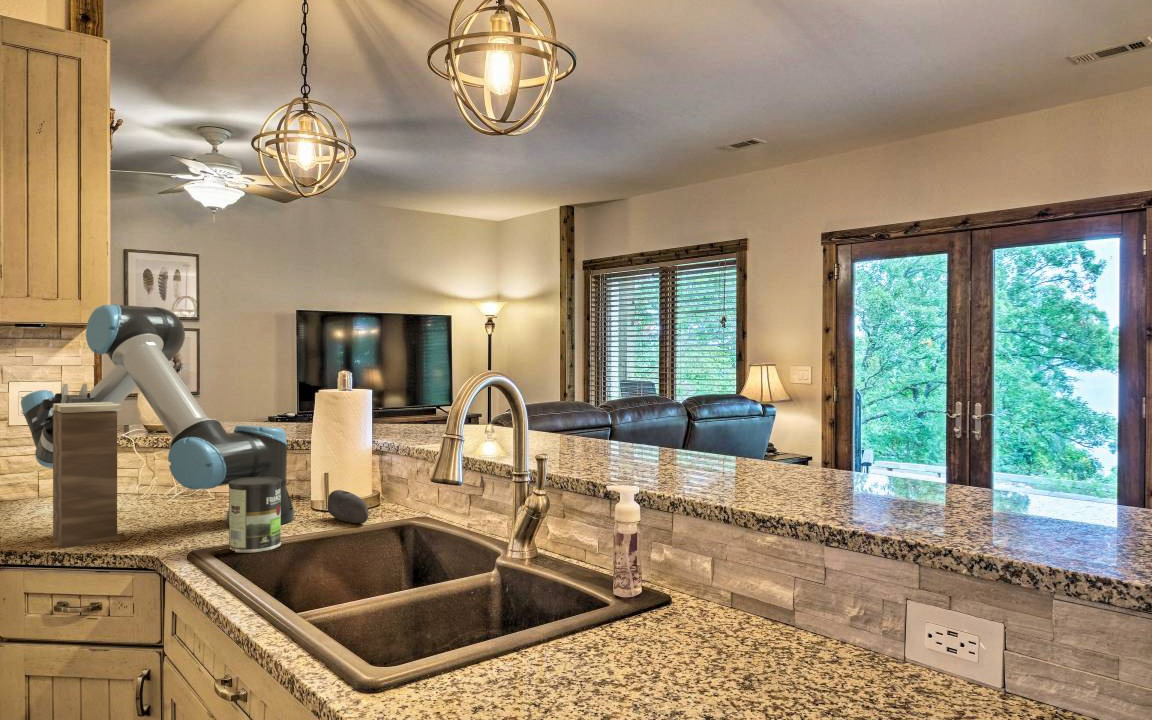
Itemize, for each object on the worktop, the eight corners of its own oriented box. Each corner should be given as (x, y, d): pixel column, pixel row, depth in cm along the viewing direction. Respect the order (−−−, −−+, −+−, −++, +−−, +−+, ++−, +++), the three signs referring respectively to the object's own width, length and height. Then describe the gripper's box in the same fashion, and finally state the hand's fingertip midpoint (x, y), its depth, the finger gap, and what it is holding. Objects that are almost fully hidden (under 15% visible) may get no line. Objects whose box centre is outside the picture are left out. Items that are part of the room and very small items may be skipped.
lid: (42, 404, 175) (42, 395, 175) (95, 402, 182) (95, 394, 182) (62, 413, 154) (62, 402, 154) (121, 410, 161) (121, 400, 161)
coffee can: (288, 540, 164) (289, 476, 164) (268, 553, 154) (268, 484, 154) (242, 540, 165) (242, 475, 164) (218, 553, 154) (219, 484, 154)
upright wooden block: (53, 537, 166) (52, 410, 165) (105, 530, 172) (105, 408, 172) (62, 548, 157) (61, 413, 156) (117, 540, 164) (117, 411, 163)
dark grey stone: (375, 525, 180) (376, 496, 180) (355, 529, 176) (355, 499, 176) (344, 515, 190) (344, 488, 190) (325, 518, 186) (325, 490, 186)
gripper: (99, 443, 192) (117, 402, 177) (21, 448, 181) (33, 405, 166) (97, 417, 195) (114, 374, 180) (19, 420, 184) (31, 375, 169)
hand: (75, 389), depth 173 cm, fingers closed on lid, 3 cm apart
